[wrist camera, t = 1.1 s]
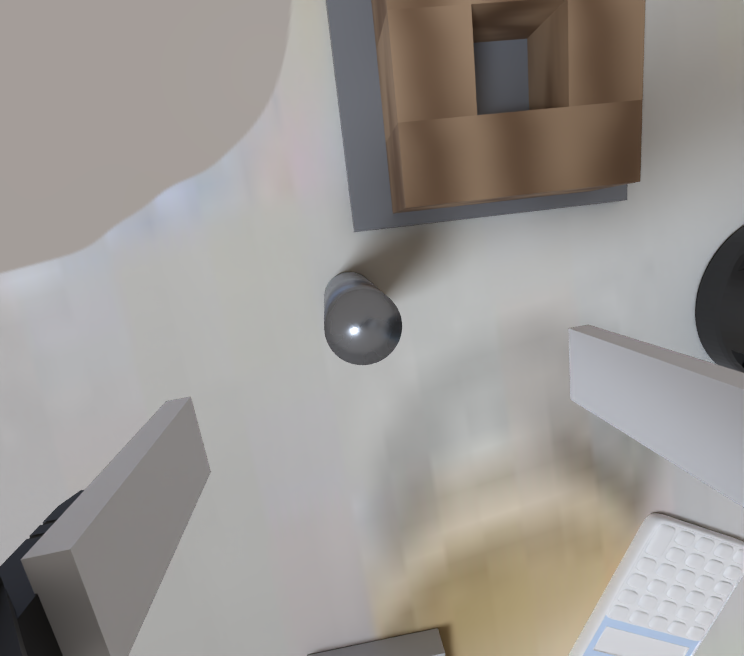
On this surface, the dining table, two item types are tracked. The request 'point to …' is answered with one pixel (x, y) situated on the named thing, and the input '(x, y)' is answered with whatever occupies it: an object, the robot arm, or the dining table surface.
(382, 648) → the parts tray
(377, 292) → the peg
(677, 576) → the calculator
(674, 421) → the robot arm
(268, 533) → the dining table surface
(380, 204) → the socket
